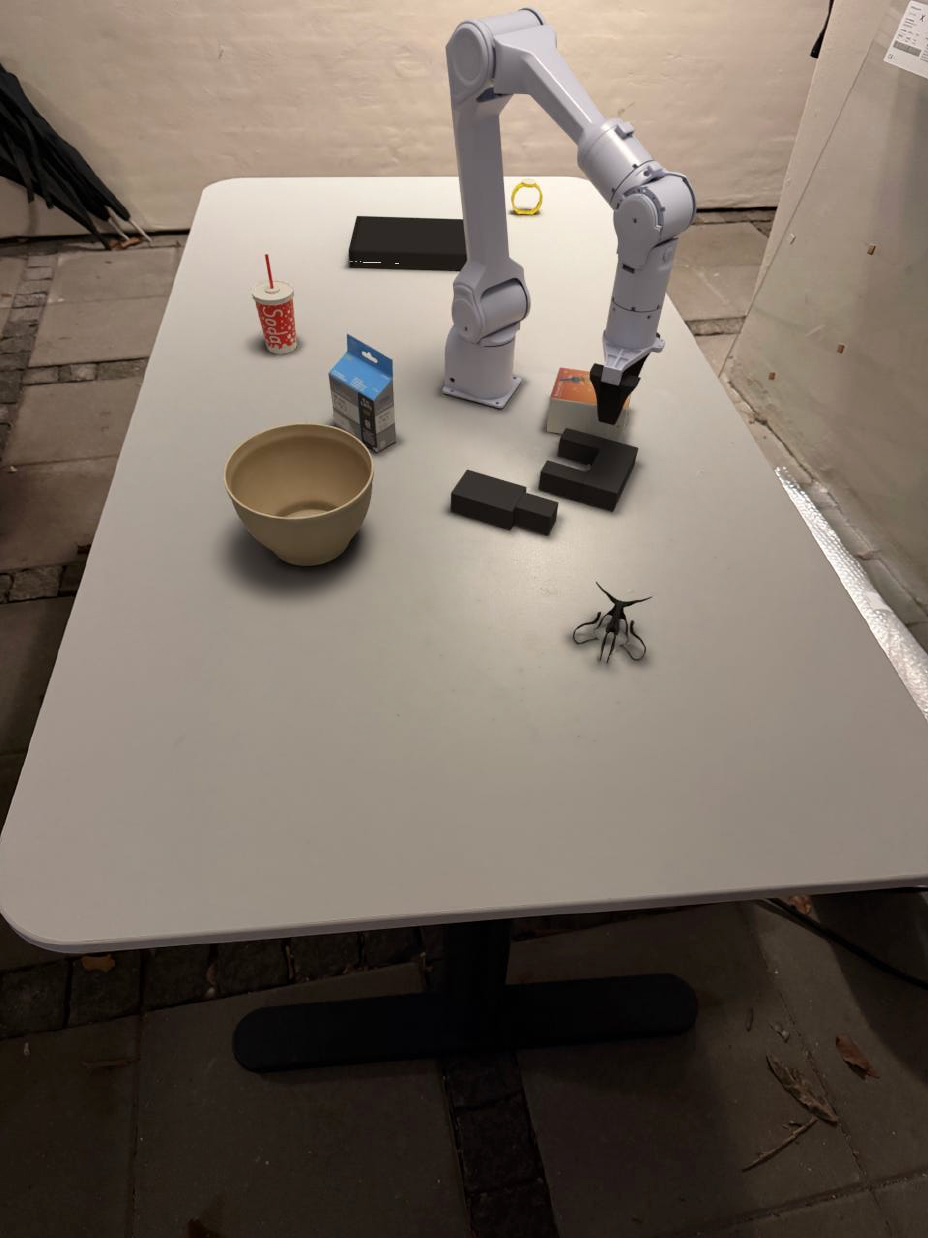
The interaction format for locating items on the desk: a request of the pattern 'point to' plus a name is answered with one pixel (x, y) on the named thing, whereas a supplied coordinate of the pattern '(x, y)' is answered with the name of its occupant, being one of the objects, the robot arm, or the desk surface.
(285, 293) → the beverage cup
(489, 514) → the pad
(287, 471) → the planter bowl
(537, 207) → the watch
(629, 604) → the creature
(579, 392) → the small box
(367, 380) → the ink cartridge box
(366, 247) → the black electronic device box
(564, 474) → the notch pad
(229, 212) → the desk surface
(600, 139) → the robot arm
